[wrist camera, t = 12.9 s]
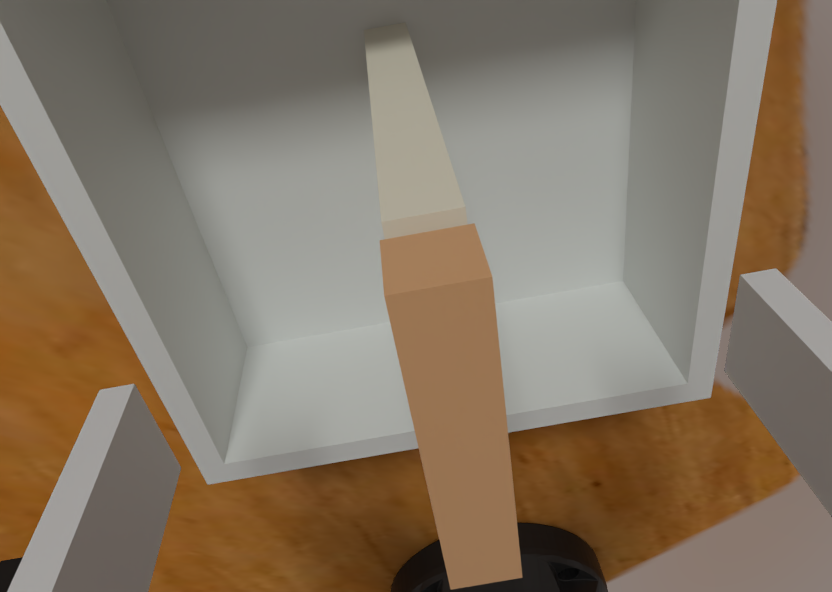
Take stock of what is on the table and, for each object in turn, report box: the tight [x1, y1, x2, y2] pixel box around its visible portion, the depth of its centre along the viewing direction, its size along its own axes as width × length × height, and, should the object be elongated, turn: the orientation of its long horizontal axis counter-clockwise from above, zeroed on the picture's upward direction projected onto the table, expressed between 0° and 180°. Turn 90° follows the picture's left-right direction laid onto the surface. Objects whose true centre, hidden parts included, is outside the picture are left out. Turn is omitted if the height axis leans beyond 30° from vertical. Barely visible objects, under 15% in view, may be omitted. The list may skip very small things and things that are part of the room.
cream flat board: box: [364, 22, 523, 590], centre depth 18 cm, size 8×2×16 cm, turn 9°
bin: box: [0, 0, 777, 484], centre depth 22 cm, size 20×20×8 cm
